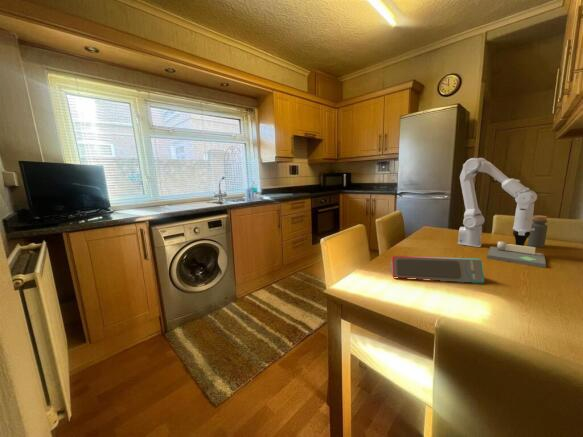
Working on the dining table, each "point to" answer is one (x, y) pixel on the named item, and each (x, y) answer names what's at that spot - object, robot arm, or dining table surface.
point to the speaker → (438, 268)
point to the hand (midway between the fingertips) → (519, 247)
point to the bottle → (538, 232)
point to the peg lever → (516, 248)
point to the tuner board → (517, 257)
